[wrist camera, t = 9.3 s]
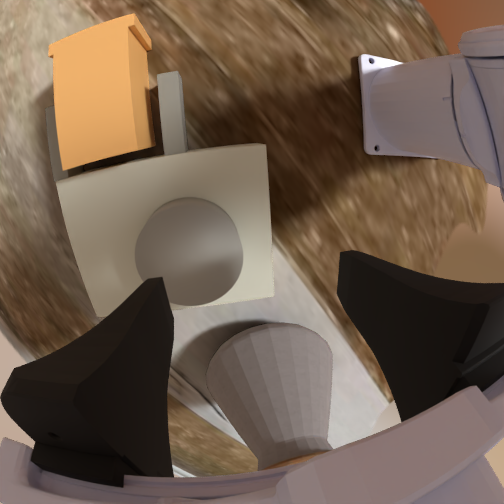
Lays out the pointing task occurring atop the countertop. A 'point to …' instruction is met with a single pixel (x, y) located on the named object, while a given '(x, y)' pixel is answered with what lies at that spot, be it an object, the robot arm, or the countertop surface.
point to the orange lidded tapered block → (102, 92)
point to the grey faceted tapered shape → (275, 391)
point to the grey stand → (170, 217)
